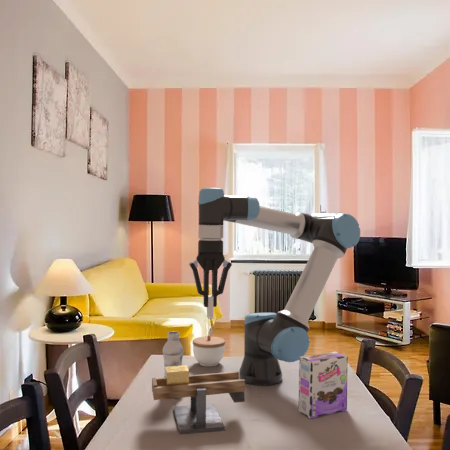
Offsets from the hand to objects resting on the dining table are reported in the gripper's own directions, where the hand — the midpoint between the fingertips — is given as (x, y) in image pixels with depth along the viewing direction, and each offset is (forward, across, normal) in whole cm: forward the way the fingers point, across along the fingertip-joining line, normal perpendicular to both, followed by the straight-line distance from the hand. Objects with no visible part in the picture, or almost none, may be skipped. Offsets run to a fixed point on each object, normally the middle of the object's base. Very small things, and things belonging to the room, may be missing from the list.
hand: (210, 317), depth 144 cm
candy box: (+27, -32, +11) cm, 43 cm away
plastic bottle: (+27, +10, -9) cm, 30 cm away
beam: (+21, +5, +10) cm, 24 cm away
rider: (+17, +11, +10) cm, 22 cm away
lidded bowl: (+27, -7, -40) cm, 49 cm away
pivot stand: (+26, +5, +10) cm, 29 cm away
